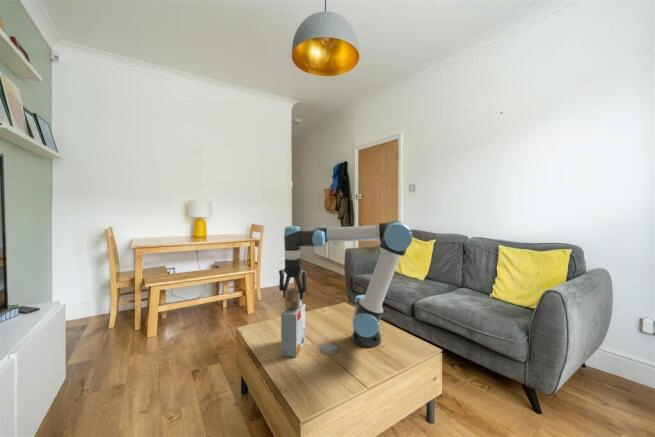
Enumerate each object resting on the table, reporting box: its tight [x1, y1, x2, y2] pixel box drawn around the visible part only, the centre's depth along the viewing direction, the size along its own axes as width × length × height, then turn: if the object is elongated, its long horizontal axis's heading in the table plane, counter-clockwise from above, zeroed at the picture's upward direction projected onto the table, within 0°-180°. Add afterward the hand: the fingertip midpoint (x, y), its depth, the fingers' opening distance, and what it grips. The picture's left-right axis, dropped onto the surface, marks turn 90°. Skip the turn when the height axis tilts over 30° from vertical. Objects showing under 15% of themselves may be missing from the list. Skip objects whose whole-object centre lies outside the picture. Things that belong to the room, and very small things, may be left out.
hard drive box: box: [280, 303, 306, 358], centre depth 131 cm, size 16×8×20 cm, turn 168°
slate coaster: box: [319, 342, 339, 355], centre depth 131 cm, size 9×9×1 cm
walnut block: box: [284, 287, 299, 309], centre depth 130 cm, size 6×6×8 cm
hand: (293, 305), depth 131 cm, fingers closed on walnut block, 6 cm apart
